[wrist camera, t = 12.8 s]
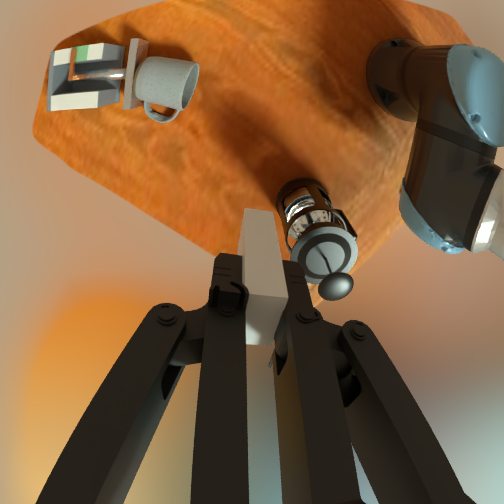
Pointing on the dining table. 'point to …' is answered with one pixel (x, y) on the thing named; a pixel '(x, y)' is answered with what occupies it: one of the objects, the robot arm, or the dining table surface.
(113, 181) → the dining table surface
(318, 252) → the french press
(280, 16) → the dining table surface
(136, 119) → the dining table surface
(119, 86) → the grey bracket housing
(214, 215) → the dining table surface
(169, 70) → the ceramic mug
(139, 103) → the plunger
